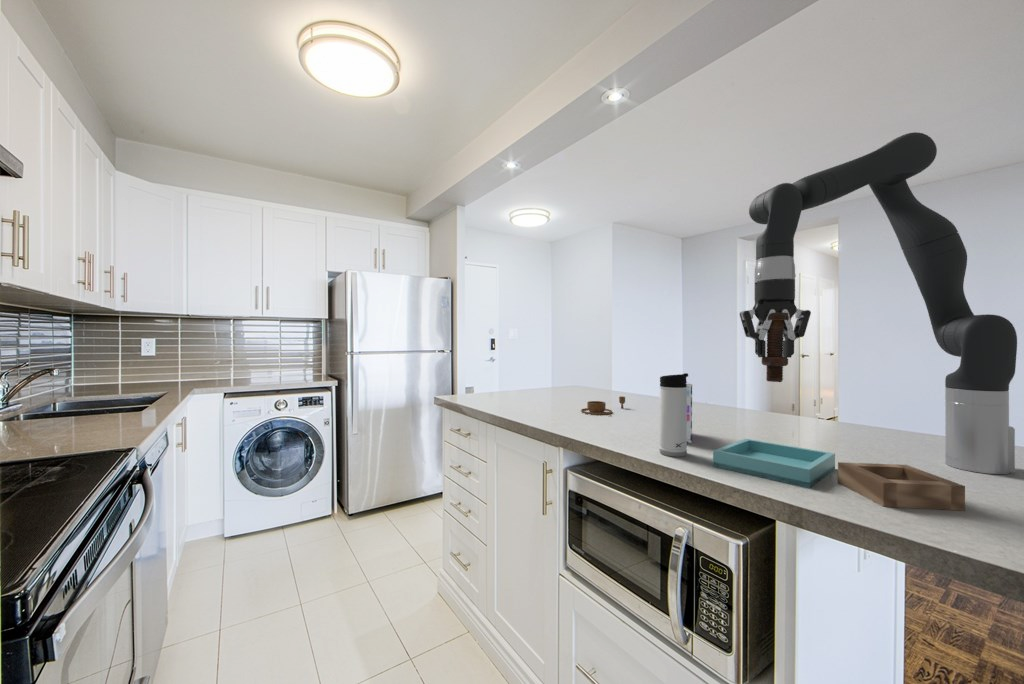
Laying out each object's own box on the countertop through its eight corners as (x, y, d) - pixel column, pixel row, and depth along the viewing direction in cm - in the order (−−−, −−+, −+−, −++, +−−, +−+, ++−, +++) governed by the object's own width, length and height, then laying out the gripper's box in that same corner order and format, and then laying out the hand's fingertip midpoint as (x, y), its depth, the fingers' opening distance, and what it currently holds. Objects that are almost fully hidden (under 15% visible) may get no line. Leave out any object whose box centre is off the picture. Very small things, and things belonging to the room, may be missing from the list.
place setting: (576, 411, 170) (576, 396, 170) (623, 410, 171) (623, 396, 171) (586, 418, 152) (586, 402, 152) (639, 418, 154) (639, 402, 154)
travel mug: (685, 458, 98) (685, 374, 98) (657, 454, 102) (657, 373, 102) (690, 452, 104) (690, 372, 104) (662, 449, 107) (662, 371, 107)
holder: (906, 485, 80) (906, 464, 80) (965, 510, 68) (965, 486, 68) (837, 482, 82) (838, 462, 82) (883, 506, 70) (883, 482, 70)
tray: (746, 452, 104) (746, 438, 104) (835, 469, 90) (835, 453, 90) (713, 466, 92) (713, 450, 92) (809, 488, 79) (809, 469, 79)
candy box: (693, 444, 113) (693, 383, 113) (670, 443, 114) (670, 383, 114) (681, 433, 126) (681, 379, 126) (661, 432, 127) (661, 378, 127)
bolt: (781, 383, 87) (782, 312, 87) (756, 381, 91) (756, 313, 91) (793, 382, 91) (794, 313, 91) (768, 380, 95) (768, 314, 95)
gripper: (800, 281, 94) (800, 357, 94) (733, 282, 96) (732, 356, 96) (820, 276, 86) (820, 358, 86) (746, 277, 88) (746, 357, 88)
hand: (774, 357), depth 91 cm, fingers closed on bolt, 4 cm apart
